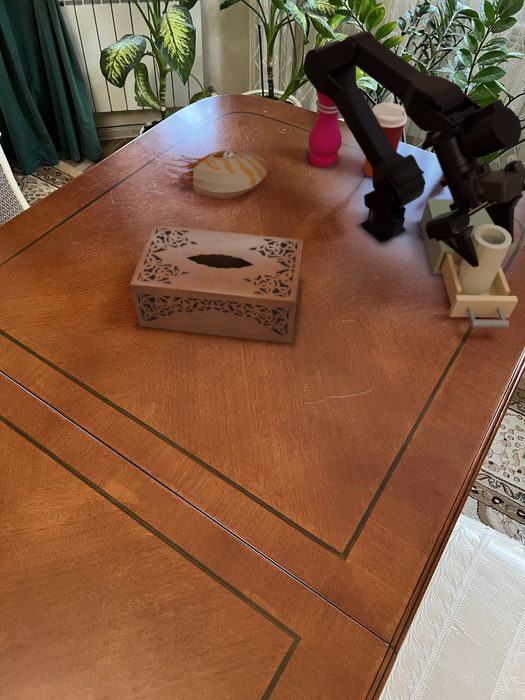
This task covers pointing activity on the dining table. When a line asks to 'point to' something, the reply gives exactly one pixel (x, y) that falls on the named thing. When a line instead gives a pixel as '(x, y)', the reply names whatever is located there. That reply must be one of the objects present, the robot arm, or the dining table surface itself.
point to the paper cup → (389, 125)
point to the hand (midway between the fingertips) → (493, 254)
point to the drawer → (477, 297)
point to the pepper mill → (325, 134)
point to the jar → (484, 259)
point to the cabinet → (438, 247)
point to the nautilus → (224, 173)
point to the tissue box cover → (218, 283)
